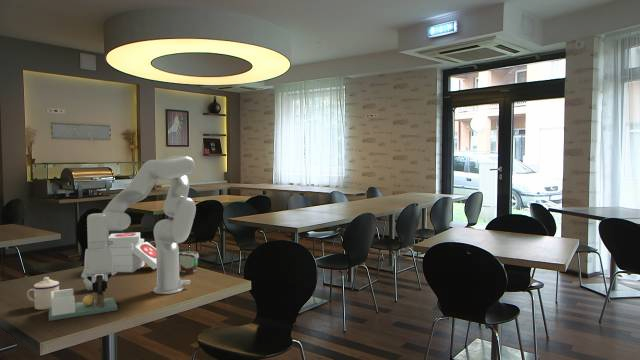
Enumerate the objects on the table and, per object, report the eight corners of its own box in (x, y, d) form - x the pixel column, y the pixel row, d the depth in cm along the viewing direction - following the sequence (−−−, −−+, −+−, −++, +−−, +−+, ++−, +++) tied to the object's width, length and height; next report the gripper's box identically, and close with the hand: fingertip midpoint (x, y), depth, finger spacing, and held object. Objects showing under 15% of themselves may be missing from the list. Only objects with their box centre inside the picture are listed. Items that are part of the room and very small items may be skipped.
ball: (93, 303, 185) (93, 293, 184) (94, 306, 181) (94, 296, 181) (82, 305, 183) (82, 295, 182) (83, 307, 179) (82, 297, 179)
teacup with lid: (64, 302, 191) (63, 274, 190) (53, 309, 182) (52, 280, 181) (34, 303, 190) (33, 275, 190) (21, 310, 181) (20, 281, 180)
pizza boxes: (155, 273, 239) (155, 238, 238) (98, 272, 240) (97, 238, 240) (169, 264, 258) (168, 232, 257) (116, 264, 259) (115, 232, 259)
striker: (102, 299, 189) (101, 272, 188) (104, 306, 180) (104, 277, 180) (95, 300, 188) (95, 273, 187) (98, 307, 179) (97, 278, 178)
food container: (204, 271, 241) (204, 252, 241) (195, 274, 236) (195, 254, 236) (187, 268, 248) (187, 250, 247) (178, 271, 243) (178, 252, 242)
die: (91, 294, 204) (105, 275, 206) (76, 284, 205) (90, 265, 208) (99, 296, 211) (113, 277, 214) (84, 286, 213) (98, 268, 215)
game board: (113, 300, 192) (112, 283, 192) (117, 310, 181) (116, 291, 180) (48, 310, 181) (48, 291, 181) (48, 320, 169) (48, 300, 169)
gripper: (119, 241, 190) (120, 286, 191) (74, 245, 182) (76, 292, 183) (121, 244, 184) (123, 290, 184) (75, 248, 175) (77, 297, 176)
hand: (99, 290), depth 184 cm, fingers closed on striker, 2 cm apart
